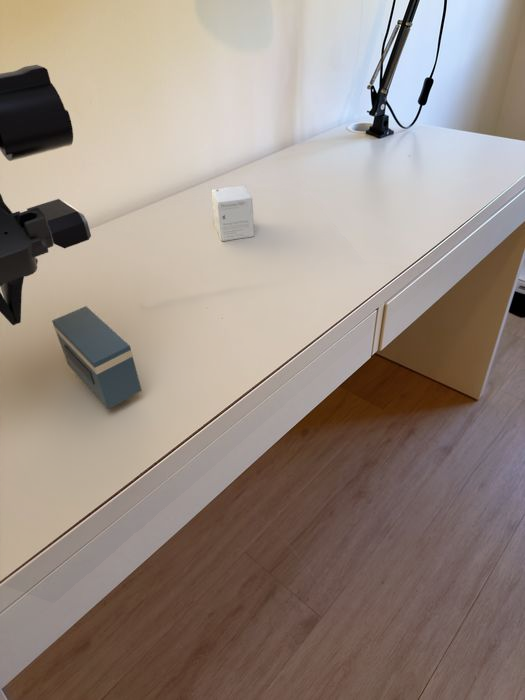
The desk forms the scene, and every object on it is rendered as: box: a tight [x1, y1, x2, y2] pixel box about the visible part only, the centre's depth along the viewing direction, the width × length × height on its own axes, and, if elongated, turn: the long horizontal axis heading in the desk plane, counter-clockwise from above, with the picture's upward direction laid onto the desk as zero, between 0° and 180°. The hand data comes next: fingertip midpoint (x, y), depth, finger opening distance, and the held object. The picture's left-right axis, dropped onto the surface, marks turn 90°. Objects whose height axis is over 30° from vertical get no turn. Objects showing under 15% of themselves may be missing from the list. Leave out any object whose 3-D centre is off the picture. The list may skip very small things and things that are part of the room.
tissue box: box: [51, 305, 142, 410], centre depth 63 cm, size 11×5×7 cm, turn 41°
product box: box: [211, 185, 255, 242], centre depth 93 cm, size 6×6×7 cm
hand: (15, 322), depth 55 cm, fingers closed
